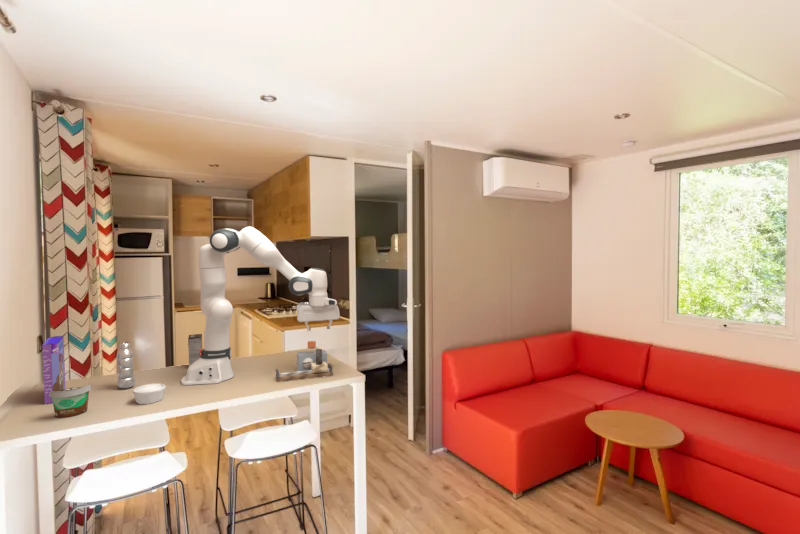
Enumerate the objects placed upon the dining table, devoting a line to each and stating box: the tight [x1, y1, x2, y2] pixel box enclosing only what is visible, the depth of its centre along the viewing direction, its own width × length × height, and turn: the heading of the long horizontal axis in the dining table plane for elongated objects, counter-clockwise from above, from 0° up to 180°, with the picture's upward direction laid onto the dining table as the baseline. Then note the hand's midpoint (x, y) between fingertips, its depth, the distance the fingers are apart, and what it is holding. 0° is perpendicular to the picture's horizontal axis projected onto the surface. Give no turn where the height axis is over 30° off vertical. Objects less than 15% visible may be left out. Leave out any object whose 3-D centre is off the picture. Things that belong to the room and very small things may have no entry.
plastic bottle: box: [116, 341, 136, 389], centre depth 180 cm, size 6×7×20 cm
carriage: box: [311, 348, 328, 373], centre depth 198 cm, size 7×6×11 cm
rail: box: [275, 363, 334, 383], centre depth 196 cm, size 26×7×4 cm, turn 111°
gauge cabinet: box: [296, 349, 328, 371], centre depth 206 cm, size 14×9×9 cm, turn 111°
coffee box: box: [187, 333, 203, 367], centre depth 214 cm, size 9×6×16 cm
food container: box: [49, 383, 92, 419], centre depth 150 cm, size 12×6×10 cm, turn 126°
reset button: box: [307, 340, 317, 350], centre depth 206 cm, size 4×4×3 cm
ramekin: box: [132, 383, 166, 405], centre depth 165 cm, size 11×11×5 cm
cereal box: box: [42, 335, 66, 405], centre depth 169 cm, size 17×5×24 cm, turn 34°
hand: (318, 329), depth 198 cm, fingers open, 8 cm apart
